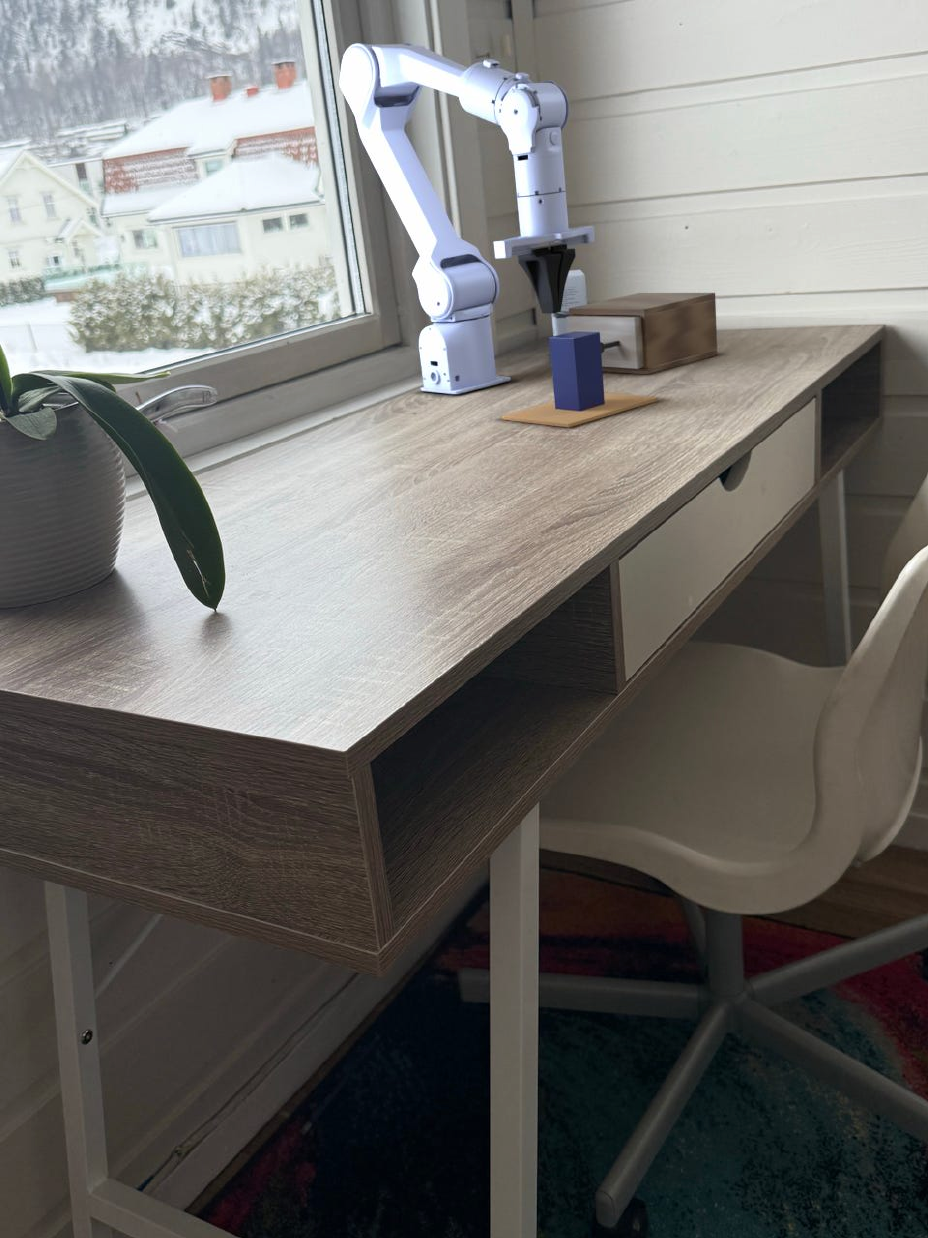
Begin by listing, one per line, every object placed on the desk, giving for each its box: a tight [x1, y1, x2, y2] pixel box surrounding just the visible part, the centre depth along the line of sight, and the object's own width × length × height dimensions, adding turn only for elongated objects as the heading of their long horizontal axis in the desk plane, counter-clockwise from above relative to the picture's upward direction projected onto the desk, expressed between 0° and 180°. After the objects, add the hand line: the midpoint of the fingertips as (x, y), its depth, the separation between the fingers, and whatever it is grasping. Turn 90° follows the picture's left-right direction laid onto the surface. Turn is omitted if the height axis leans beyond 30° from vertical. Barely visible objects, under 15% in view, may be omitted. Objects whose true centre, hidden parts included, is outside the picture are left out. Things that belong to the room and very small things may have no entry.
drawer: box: [566, 315, 644, 369], centre depth 151 cm, size 17×12×6 cm
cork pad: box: [501, 392, 659, 429], centre depth 129 cm, size 14×11×1 cm
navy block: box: [548, 331, 605, 411], centre depth 128 cm, size 4×4×8 cm
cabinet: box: [569, 292, 718, 375], centre depth 153 cm, size 14×14×8 cm
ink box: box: [551, 269, 588, 337], centre depth 164 cm, size 8×5×12 cm, turn 179°
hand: (551, 312), depth 140 cm, fingers closed
